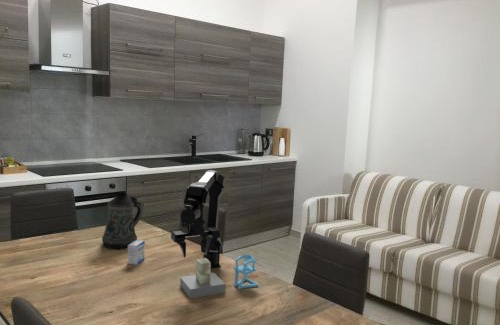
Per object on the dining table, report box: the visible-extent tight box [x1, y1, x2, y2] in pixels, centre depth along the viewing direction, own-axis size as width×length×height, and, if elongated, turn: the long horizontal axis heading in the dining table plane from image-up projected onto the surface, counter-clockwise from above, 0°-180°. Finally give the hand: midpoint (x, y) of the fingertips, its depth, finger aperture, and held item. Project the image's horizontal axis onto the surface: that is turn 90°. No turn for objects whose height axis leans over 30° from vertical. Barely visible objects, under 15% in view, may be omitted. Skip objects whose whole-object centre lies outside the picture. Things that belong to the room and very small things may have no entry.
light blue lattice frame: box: [233, 254, 259, 290], centre depth 175 cm, size 8×8×12 cm
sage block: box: [195, 257, 212, 284], centre depth 169 cm, size 4×5×8 cm
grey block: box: [179, 272, 226, 299], centre depth 170 cm, size 14×12×4 cm
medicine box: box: [127, 239, 146, 266], centre depth 195 cm, size 8×4×9 cm, turn 168°
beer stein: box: [101, 193, 144, 251], centre depth 216 cm, size 16×19×25 cm
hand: (195, 255), depth 172 cm, fingers open, 9 cm apart
